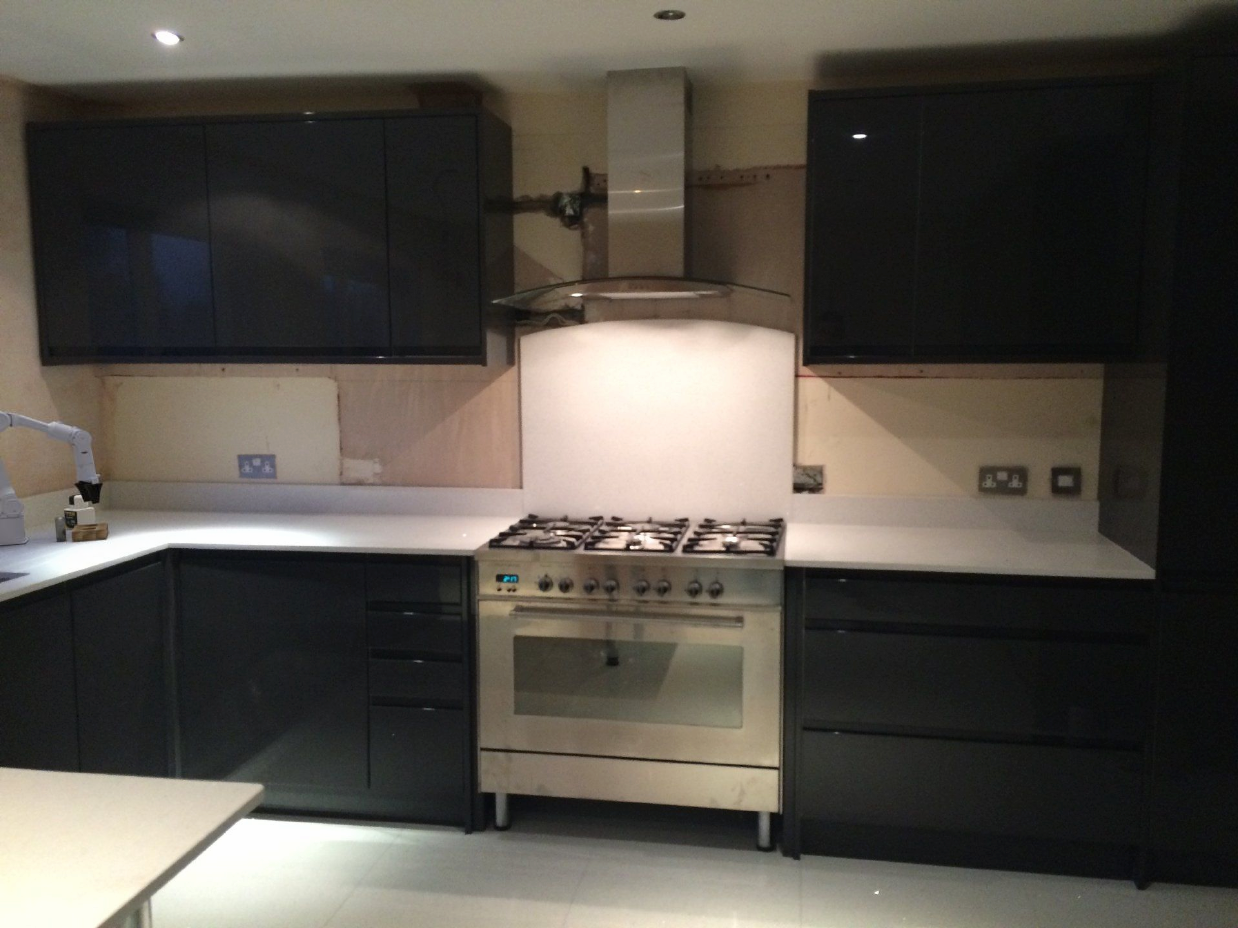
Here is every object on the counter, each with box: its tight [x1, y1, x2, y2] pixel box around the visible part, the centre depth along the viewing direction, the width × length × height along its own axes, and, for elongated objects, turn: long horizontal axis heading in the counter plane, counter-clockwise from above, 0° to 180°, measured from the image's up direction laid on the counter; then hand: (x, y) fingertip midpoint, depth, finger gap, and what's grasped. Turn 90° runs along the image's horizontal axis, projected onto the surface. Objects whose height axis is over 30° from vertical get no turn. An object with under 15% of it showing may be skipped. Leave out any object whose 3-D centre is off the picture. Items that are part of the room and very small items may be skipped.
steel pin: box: [54, 516, 68, 543], centre depth 336 cm, size 3×3×8 cm
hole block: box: [71, 522, 109, 543], centre depth 342 cm, size 10×14×4 cm
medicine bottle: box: [63, 493, 97, 530], centre depth 360 cm, size 7×7×12 cm
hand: (91, 502), depth 348 cm, fingers open, 7 cm apart
